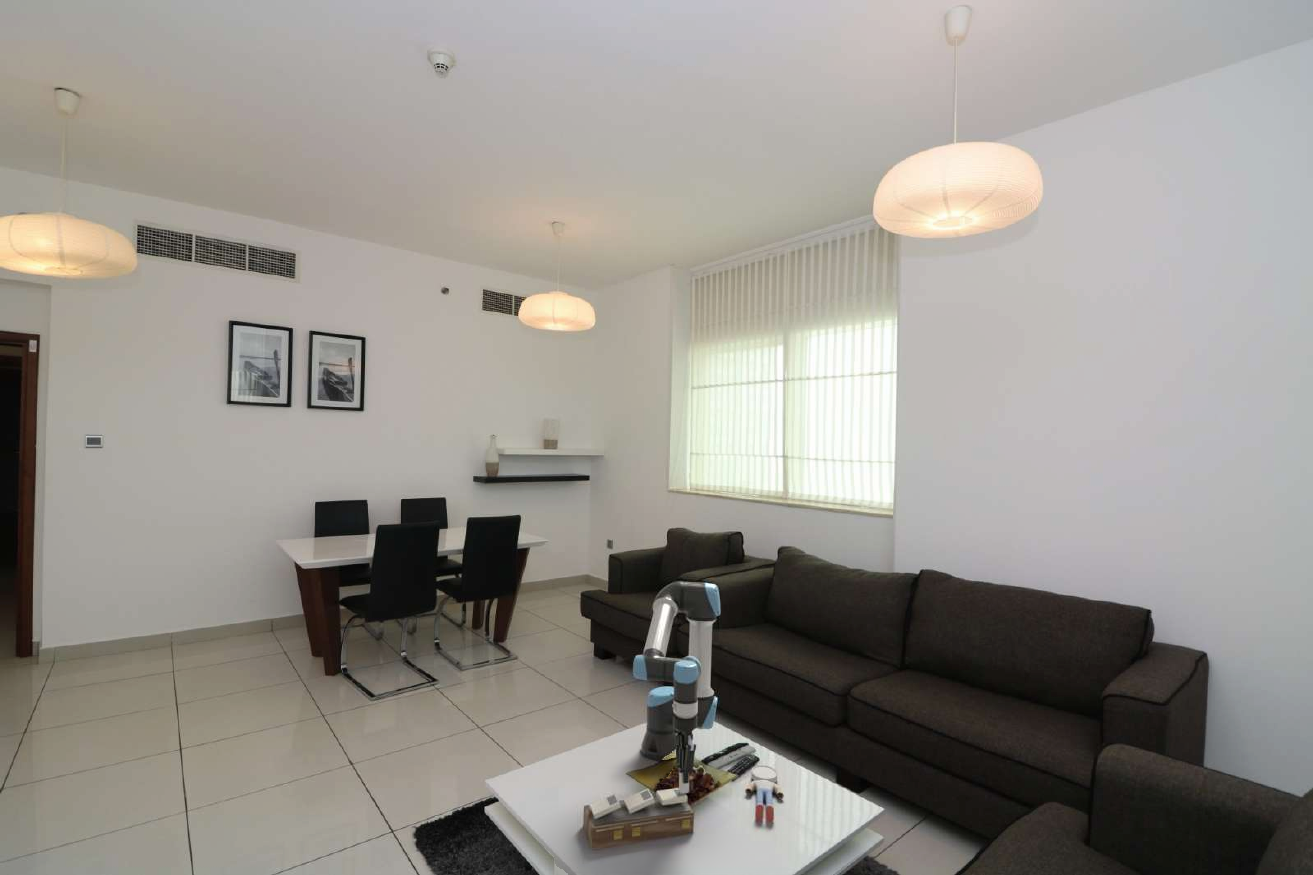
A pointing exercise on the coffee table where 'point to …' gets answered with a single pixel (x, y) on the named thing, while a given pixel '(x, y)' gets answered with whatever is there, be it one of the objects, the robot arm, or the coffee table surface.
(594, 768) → the coffee table surface
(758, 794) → the toy
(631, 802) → the block
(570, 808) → the coffee table surface
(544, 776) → the coffee table surface
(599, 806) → the rocker
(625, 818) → the wooden storage box
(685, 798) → the rocker
